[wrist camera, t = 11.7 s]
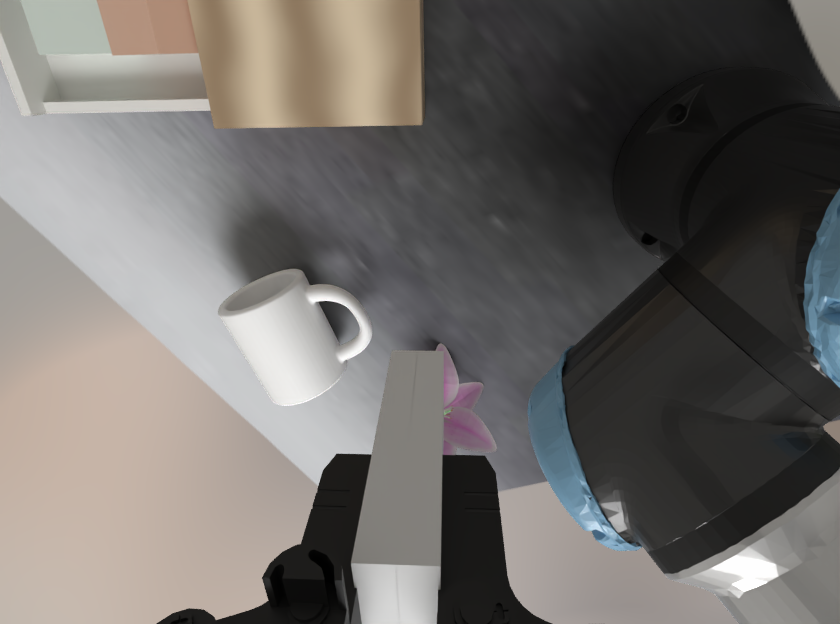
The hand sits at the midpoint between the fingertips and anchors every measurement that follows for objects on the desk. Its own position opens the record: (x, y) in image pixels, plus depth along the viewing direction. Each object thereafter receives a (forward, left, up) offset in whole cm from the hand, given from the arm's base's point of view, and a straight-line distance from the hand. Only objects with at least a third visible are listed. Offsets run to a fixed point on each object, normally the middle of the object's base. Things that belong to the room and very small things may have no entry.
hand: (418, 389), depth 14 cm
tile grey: (+25, -13, -26) cm, 38 cm away
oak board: (+8, -13, -29) cm, 33 cm away
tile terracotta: (+19, -12, -26) cm, 35 cm away
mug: (+12, +13, -30) cm, 35 cm away
